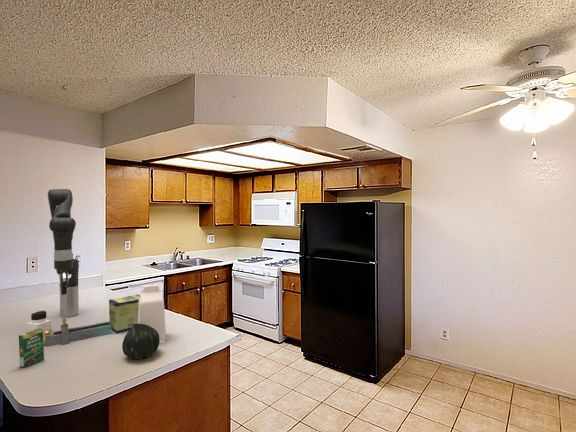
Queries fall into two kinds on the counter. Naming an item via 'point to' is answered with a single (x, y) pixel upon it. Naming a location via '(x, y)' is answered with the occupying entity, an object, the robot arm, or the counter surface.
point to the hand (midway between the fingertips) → (64, 294)
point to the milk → (152, 310)
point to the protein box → (123, 313)
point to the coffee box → (31, 347)
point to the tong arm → (84, 327)
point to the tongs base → (74, 334)
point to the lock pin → (64, 320)
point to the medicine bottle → (39, 321)
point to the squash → (140, 341)
